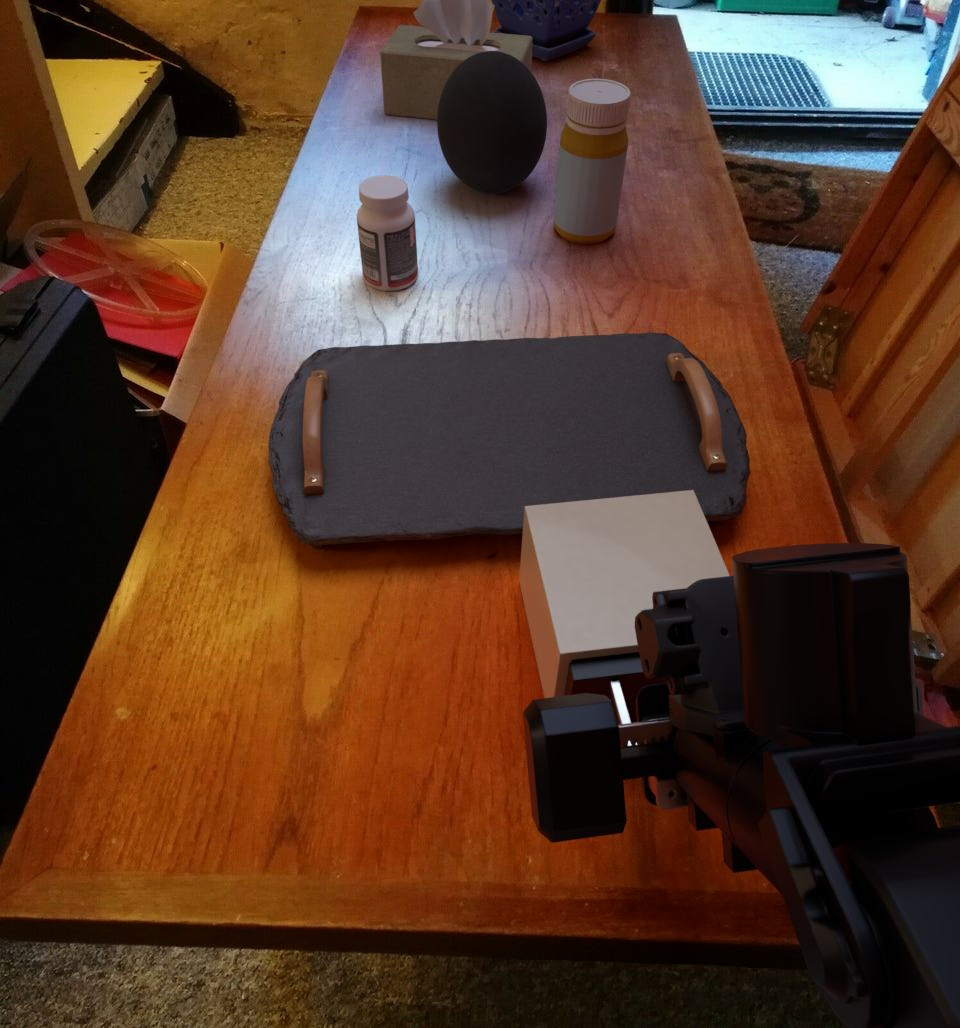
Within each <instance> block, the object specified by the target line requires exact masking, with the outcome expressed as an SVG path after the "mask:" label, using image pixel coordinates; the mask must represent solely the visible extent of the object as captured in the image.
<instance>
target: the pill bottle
mask: <svg viewBox="0 0 960 1028" xmlns="http://www.w3.org/2000/svg"><path fill="white" fill-rule="evenodd" d="M409 196H410V195H409V187H408V183H407V182H406V180H404V179H403V178H401V177H398V176H396V175H389V174H381V175H380V174H379V175H374V176H369V177H367V178H365V179H364V180H362V181H361V182H360V183H359V185H358V198H359V202H360V203H361V205H360V206H359V208H358V209H357V212H356V223H357V225H356V226H357V233H358V243H359V252H360V260H361V271H362V277H363V280H364V281H365V283H366V284H367V285H368V286H369V287H371V288H372V289H375V290H379V291H385V292H395V291H400V290H403V289H406V288H408V287H410V286H411V285H413V284H414V283H415V282H416V280H417V278H418V276H419V264H418V248H417V231H416V230H417V229H416V214H415V210H414V207H412V205H411V204H410V203H409V202H408V201H409Z"/></svg>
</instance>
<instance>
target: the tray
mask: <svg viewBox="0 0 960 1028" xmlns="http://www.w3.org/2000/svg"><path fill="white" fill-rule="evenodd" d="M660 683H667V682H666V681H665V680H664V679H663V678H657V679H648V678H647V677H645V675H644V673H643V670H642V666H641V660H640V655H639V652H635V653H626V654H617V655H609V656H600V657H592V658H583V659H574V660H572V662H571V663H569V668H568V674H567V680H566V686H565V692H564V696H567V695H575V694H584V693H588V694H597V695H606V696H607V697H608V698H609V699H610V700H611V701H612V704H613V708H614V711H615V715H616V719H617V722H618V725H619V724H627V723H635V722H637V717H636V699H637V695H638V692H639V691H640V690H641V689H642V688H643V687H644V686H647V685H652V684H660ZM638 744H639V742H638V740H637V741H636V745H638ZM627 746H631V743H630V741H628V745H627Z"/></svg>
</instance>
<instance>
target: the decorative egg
mask: <svg viewBox="0 0 960 1028" xmlns="http://www.w3.org/2000/svg"><path fill="white" fill-rule="evenodd" d="M547 113H548V112H547V105H546V100H545V98H544V93H543V91H542V88H541V86H540V85H539V82H538V81H537V79H536V77H535V75H534V74H533V72H531V71H530V70H529V69H528V68H527V67H526V66H525V65H524V64H523V63H522V62H521V61H519V60H518V59H516V58H515V57H513V56H511V55H509V54H506V53H503V52H498V51H485V52H480V53H477V54H475V55H472V56H470V57H468V58H467V59H466V60H464V61H463V62H462V63H460V64H459V65H458V66H457V67H456V69H455V70H454V71H453V72H452V74H451V75H450V77H449V78H448V80H447V82H446V84H445V86H444V88H443V91H442V94H441V97H440V101H439V105H438V113H437V120H436V126H437V127H436V129H437V137H438V143H439V147H440V149H441V153H442V155H443V158H444V160H445V162H446V164H447V166H448V167H449V168H450V170H451V172H452V173H453V174H454V175H455V177H456V178H457V179H458V180H459V181H461V183H463V184H464V185H466V186H467V187H468V188H470V189H472V190H473V191H474V190H475V191H477V192H479V193H483V194H501V193H506V192H508V191H511V190H513V189H515V188H517V187H518V186H519V185H521V184H522V183H523V182H524V181H525V180H527V178H528V177H529V176H530V175H531V174H532V173H533V171H534V170H535V169H536V167H537V165H538V163H539V162H540V159H541V156H542V153H543V151H544V147H545V144H546V140H547V134H548V133H547V132H548V114H547Z"/></svg>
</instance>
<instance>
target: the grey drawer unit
mask: <svg viewBox="0 0 960 1028" xmlns="http://www.w3.org/2000/svg"><path fill="white" fill-rule="evenodd" d="M518 576H519V578H518V582H519V587H520V591H521V596H522V601H523V606H524V611H525V616H526V619H527V620H526V621H527V624H528V629H529V633H530V638H531V641H532V642H531V643H532V648H533V652H534V657H535V661H536V667H537V670H538V675H539V680H540V685H541V689H542V694H543V698H551V697H559V696H564V692H565V686H566V680H567V674H568V668H569V663H571V662H572V660H574V659H583V658H592V657H600V656H609V655H617V654H626V653H635V652H639V649H638V643H637V638H636V632H635V617H636V616H637V614H638V613H640V612H641V611H642V610H647V609H653V602H652V595H653V592H657V591H666V590H675V589H685V588H687V587H689V586H690V585H691V584H693V583H694V582H696V581H698V580H701V579H707V578H716V577H726V576H731V574H730V572H729V570H728V568H727V566H726V563H725V561H724V558H723V555H722V553H721V551H720V549H719V547H718V545H717V541H716V539H715V538H714V535H713V532H712V530H711V528H710V525H709V523H708V521H706V518H705V516H704V514H703V511H702V509H701V507H700V504H699V502H698V499H697V497H696V495H695V492H694V490H687V491H677V492H667V493H656V494H646V495H635V496H625V497H615V498H604V499H594V500H584V501H573V502H563V503H552V504H542V505H532V506H525V508H524V522H523V534H522V537H521V549H520V562H519V575H518Z"/></svg>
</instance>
